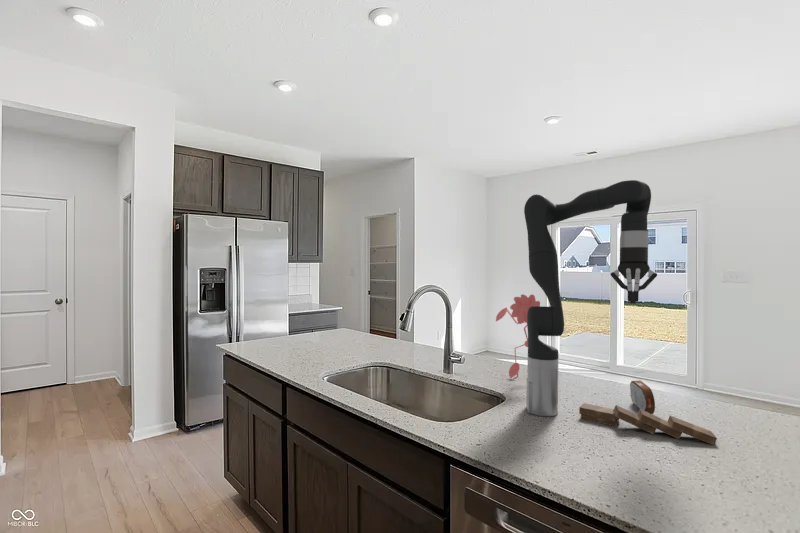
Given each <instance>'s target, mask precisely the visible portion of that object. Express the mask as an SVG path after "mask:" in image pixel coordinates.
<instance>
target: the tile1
mask: <svg viewBox="0 0 800 533" xmlns="http://www.w3.org/2000/svg"><path fill="white" fill-rule="evenodd" d="M580 420H582V421H587V422H594V423H598V422H599V423H598V424H603V423H605V424H604V425H609V424H610V425H609V426H616V427H619V424H620V419H619V418H618V419H617V421H616V422H615V421H610V420H606V419H601V418H597V417H592V416H587V415H583V414H580Z"/></svg>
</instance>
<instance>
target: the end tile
mask: <svg viewBox="0 0 800 533" xmlns="http://www.w3.org/2000/svg"><path fill="white" fill-rule="evenodd" d="M667 421H668V424H669V426H670V427H671V428H672V429H674V430H677V431H679V432H682V434H683V435H684V434H685V435H688V436H690V437H693V438H694V439H697V440H699V441H703V442H705V443H708V444H710V445H712V446H715V445H716V442H717V439H718V438H717V436H716V435H715V434H714V432H712V431H711V430H710V429H707V428H704V427H701V426H699V425H695V424H693V423H691V422H688V421H685V420H683V419H680V418H678V417H675V416H672V415H669V417H668V419H667Z"/></svg>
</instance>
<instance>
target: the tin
mask: <svg viewBox="0 0 800 533" xmlns="http://www.w3.org/2000/svg"><path fill="white" fill-rule="evenodd" d="M629 383H630V384H629V386H630V387H629V388H630V389H629V390H630V398H631V402H632V403H633V405H634V407H636V408H637V409H638V410H639V409H642V410H644V411H646V412H648V413H650V414H653V415H654V413H655V410H656V402H655V397H654V393H653V390H652V389H651V387H650V386H648V385H647V384H646V383H644V382H643V381H642V380H631V382H629Z"/></svg>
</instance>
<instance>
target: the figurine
mask: <svg viewBox="0 0 800 533" xmlns="http://www.w3.org/2000/svg"><path fill="white" fill-rule="evenodd" d="M513 302H514V303H512V304H511V305H510V306H509V308H510V310H512V312H510V311H509V310H508V307H504V308H502V309H501V310H499V312H498V313H497V314H496V316H495V322H498V321H500V320H501V319H503V317H505V316H506V313H508V315H509V316H510V318H512V320H513V321H514V323H516V325H522V324H524V323H525V324H526V325H525V326H524V327H523V332H524V334H525V337H526V338H525V339H526V340H525V341H524V344H522V345H519V346H516V347H514V349H513V350H514V360H515V361H514V363H513V364H512V365H511V366H510V367H509V370H508V377H509V379H512V378H514V377H515V376H516V377H519V371H520V364H519V363H518V362H517V353H516V351H517V350H516V349H518V348H521V347H523V346H525V347H526V348H528V333H527V330H526V328H527V313H528V309H529V308H530V307H532V306H541V301H539V300H536V296H535V295H534V294H530V295H529V296H527V295H526V294H524V293H523V294H520V296H514V297H513ZM548 307H550V305H549V306H548ZM515 318H516V319H515Z"/></svg>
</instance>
